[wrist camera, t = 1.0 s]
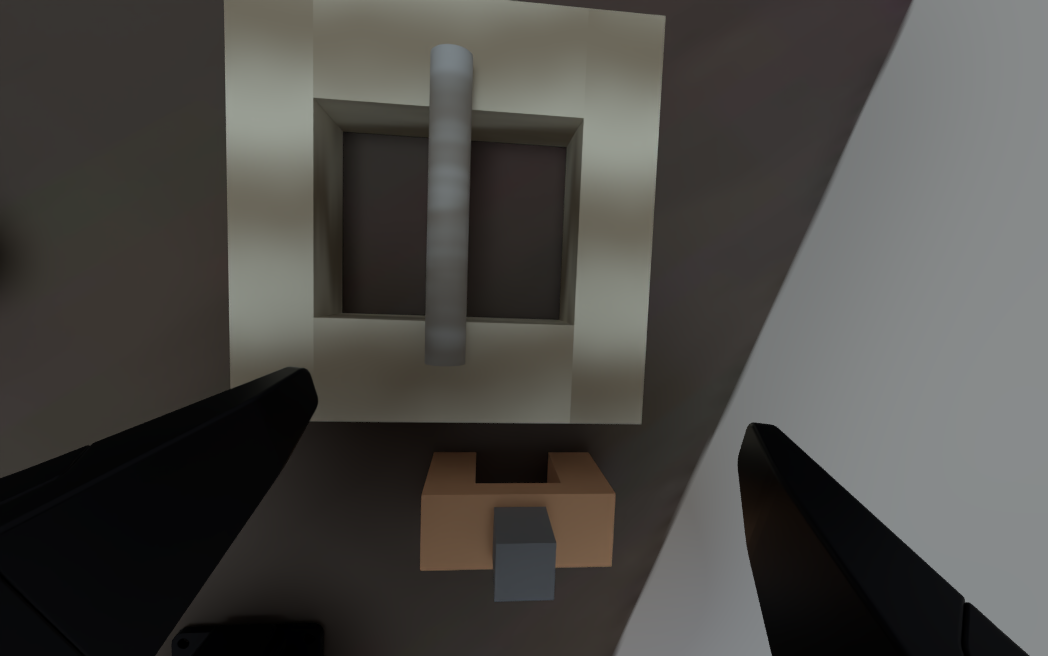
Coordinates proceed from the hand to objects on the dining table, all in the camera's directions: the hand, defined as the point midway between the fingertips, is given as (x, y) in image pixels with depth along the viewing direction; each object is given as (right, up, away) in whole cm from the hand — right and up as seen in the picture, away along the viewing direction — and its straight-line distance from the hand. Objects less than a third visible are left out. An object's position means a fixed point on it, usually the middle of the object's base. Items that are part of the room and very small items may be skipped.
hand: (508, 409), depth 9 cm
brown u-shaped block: (0, -6, +13) cm, 14 cm away
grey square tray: (-3, +6, +11) cm, 13 cm away
